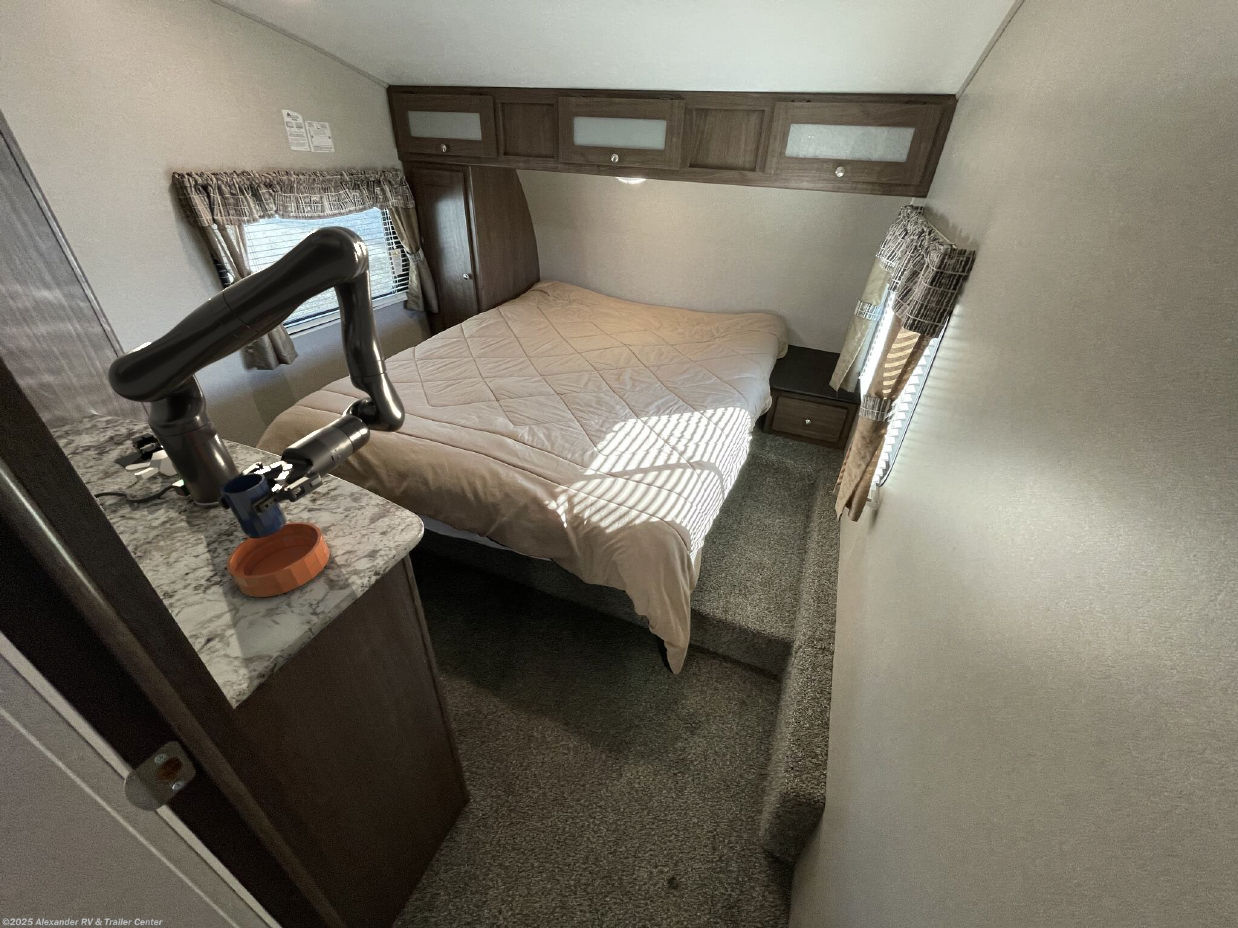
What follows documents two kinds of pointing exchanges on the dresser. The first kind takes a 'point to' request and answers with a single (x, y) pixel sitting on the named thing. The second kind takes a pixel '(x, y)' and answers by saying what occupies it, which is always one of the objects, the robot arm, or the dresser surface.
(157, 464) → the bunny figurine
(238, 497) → the blue cup
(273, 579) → the bowl
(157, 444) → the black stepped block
